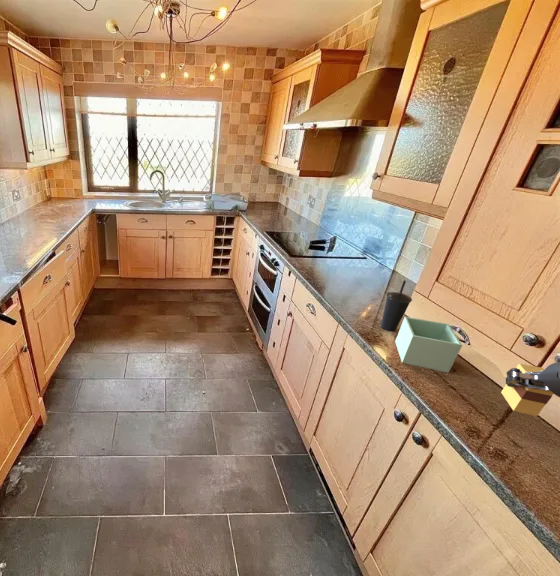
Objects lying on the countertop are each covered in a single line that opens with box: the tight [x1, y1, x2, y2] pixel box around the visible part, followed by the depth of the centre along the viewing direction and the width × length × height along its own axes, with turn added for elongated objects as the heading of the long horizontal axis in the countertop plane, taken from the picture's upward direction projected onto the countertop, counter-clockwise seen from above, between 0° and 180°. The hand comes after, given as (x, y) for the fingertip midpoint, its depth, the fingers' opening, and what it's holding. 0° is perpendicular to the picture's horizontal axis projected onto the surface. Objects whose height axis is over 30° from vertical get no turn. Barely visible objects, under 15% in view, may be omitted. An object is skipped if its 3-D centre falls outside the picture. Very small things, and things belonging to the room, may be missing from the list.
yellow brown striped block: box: [500, 363, 555, 417], centre depth 69 cm, size 4×6×9 cm
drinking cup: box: [380, 279, 413, 333], centre depth 112 cm, size 8×8×20 cm
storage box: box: [394, 316, 463, 374], centre depth 100 cm, size 12×12×11 cm
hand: (522, 384), depth 71 cm, fingers closed on yellow brown striped block, 4 cm apart
